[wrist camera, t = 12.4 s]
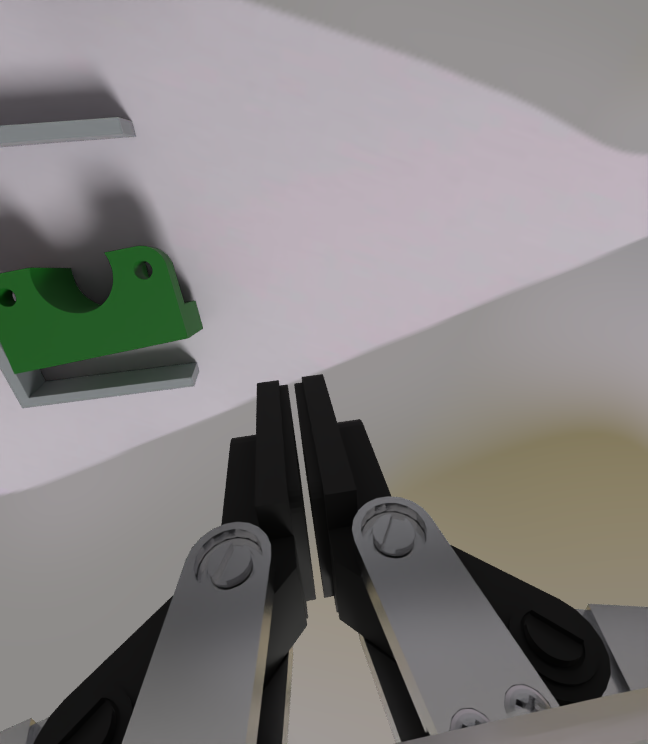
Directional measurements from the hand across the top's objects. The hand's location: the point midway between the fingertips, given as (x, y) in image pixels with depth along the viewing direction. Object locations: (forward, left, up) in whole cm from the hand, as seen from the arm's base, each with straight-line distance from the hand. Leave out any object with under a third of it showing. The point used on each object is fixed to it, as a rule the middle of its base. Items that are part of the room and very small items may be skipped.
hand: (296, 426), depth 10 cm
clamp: (-10, +6, -22) cm, 25 cm away
